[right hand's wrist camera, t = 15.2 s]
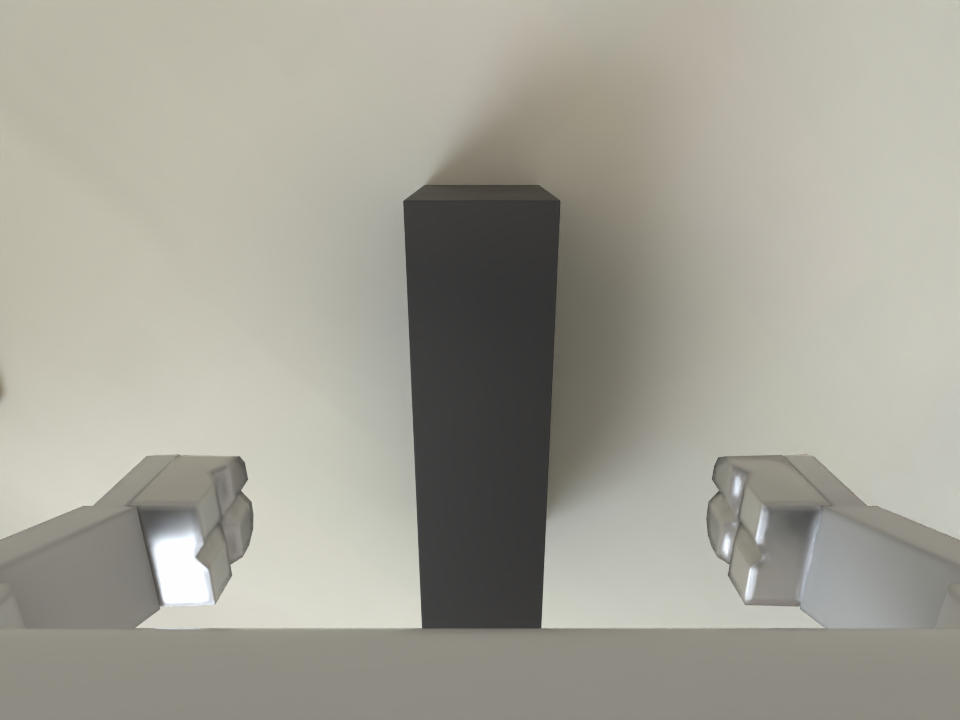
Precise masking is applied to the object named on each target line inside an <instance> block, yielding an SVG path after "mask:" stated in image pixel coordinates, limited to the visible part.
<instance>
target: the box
mask: <svg viewBox="0 0 960 720" xmlns="http://www.w3.org/2000/svg"><path fill="white" fill-rule="evenodd" d="M403 203H404V226H405V249H406V271H407V294H408V317H409V340H410V363H411V386H412V408H413V431H414V454H415V477H416V500H417V523H418V546H419V568H420V591H421V614H422V628H541V621H542V598H543V576H544V554H545V531H546V509H547V487H548V464H549V442H550V420H551V397H552V375H553V352H554V330H555V308H556V285H557V263H558V241H559V218H560V200H558V199H557V198H556V197H554V196H553V195H551V194H550V193H549V192H547V191H546V190H545V189H543V188H542V187H540V186H539V185H424V186H423V187H422V188H420V189H419V190H418V191H416V192H415V193H414V194H412V195H411V196H409V197H408V198H407V199H405V200H404V202H403Z"/></svg>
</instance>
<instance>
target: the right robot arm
mask: <svg viewBox="0 0 960 720" xmlns="http://www.w3.org/2000/svg"><path fill="white" fill-rule="evenodd" d="M247 480H248V477H247V472H246V467H245V462H244V461H243V460H242V459H241V458H240V456H198V455H182V456H181V455H152V456H146V457H145V458H144V459H143V460H142V461H141V462H140V463H139V464H138V465H137V466H136V467H134V468H133V469H132V470H131V471H130V472H129V473H128V474H127V475H126V476H125V477H124V478H123V479H121V480H120V481H119V482H118V483H117V484H116V485H115V486H114V487H113V488H112V489H111V490H110V491H109V492H107V493H106V494H105V495H104V496H103V497H102V498H101V499H100V500H99V501H98V502H97V503H96V504H94V505H93V506H82V507H80V508H77V509H75V510H72V511H70V512H67V513H65V514H63V515H60V516H58V517H55V518H53V519H50V520H48V521H46V522H43V523H41V524H38V525H36V526H33V527H31V528H28V529H26V530H24V531H21V532H19V533H16V534H14V535H11V536H9V537H6V538H4V539H2V540H0V720H960V540H958V539H956V538H953V537H951V536H948V535H946V534H944V533H941V532H939V531H936V530H934V529H931V528H929V527H927V526H924V525H922V524H919V523H917V522H914V521H912V520H910V519H907V518H905V517H902V516H900V515H897V514H895V513H892V512H890V511H888V510H885V509H883V508H880V507H878V506H867V505H866V504H865V503H863V502H862V501H861V500H860V499H859V498H858V497H857V496H856V495H855V494H854V493H853V492H852V491H851V490H849V489H848V488H847V487H846V486H845V485H844V484H843V483H842V482H841V481H840V480H839V479H838V478H837V477H835V476H834V475H833V474H832V473H831V472H830V471H829V470H828V469H827V468H826V467H825V466H824V465H822V464H821V463H820V462H819V461H818V460H817V459H816V458H815V457H813V456H810V455H807V454H805V455H767V456H726V457H719V458H718V459H717V461H716V464H715V466H714V471H713V477H712V480H713V482H714V483H715V485H716V486H717V488H718V489H719V491H718V493H717V494H716V495H715V496H714V497H713V498H712V499H711V500H710V501H709V502H708V510H707V529H708V536H709V540H710V543H711V546H712V548H713V550H714V552H715V553H716V555H717V557H718V558H720V559H722V560H723V561H725V562H726V563H728V564H729V565H730V566H729V572H728V576H729V578H730V580H731V581H732V583H733V585H734V587H735V588H736V590H737V592H738V593H739V595H740V597H741V599H742V600H743V602H744V604H745V605H768V606H800V609H801V610H802V611H803V612H805V613H806V614H807V615H809V616H810V617H811V618H813V619H814V620H815V621H817V622H818V623H819V624H821V625H822V626H823V627H825V628H135V627H137V626H138V625H139V624H141V623H142V622H143V621H145V620H146V619H147V618H149V617H150V616H151V615H153V614H154V613H155V612H157V611H158V610H159V609H160V606H191V605H215V604H216V602H217V600H218V599H219V597H220V595H221V594H222V592H223V590H224V588H225V587H226V585H227V583H228V581H229V580H230V578H231V576H232V572H231V566H230V565H231V564H232V563H234V562H235V561H237V560H238V559H240V558H242V557H243V555H244V553H245V552H246V550H247V548H248V546H249V543H250V539H251V535H252V531H253V509H252V502H251V501H250V500H249V499H248V498H247V497H246V496H245V495H244V494H243V493H242V491H241V489H242V488H243V486H244V485H245V483H246V482H247Z"/></svg>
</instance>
